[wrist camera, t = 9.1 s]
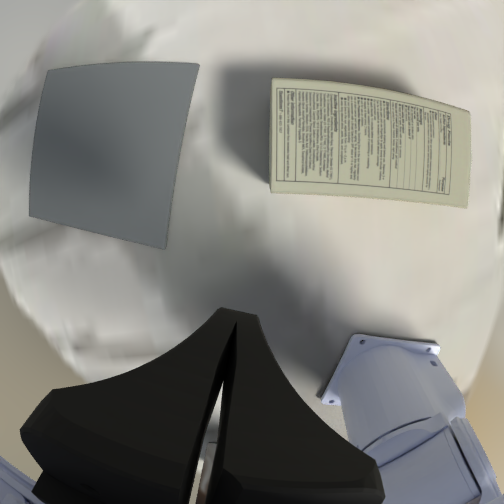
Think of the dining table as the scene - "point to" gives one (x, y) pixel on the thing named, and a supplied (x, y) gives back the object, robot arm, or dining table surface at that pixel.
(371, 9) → the dining table surface
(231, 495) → the robot arm
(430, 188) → the skincare box
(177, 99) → the mat
